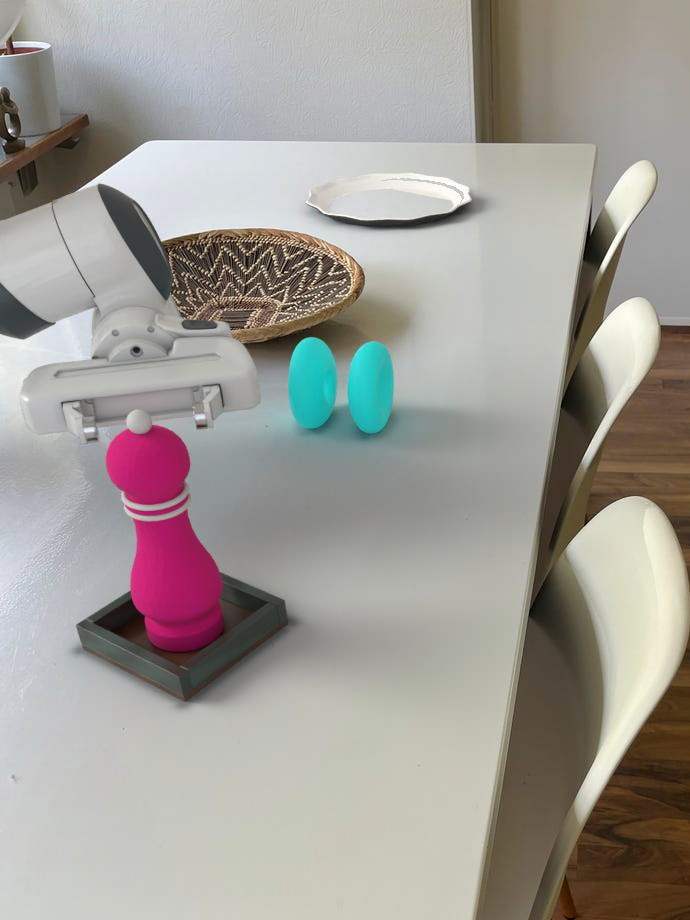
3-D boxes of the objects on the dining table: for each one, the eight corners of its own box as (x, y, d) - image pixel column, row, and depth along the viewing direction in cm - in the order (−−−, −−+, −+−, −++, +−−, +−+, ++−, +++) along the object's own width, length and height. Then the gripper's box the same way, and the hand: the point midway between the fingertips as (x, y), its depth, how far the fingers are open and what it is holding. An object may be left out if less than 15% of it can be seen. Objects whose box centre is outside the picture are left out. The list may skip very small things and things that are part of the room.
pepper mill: (173, 597, 90) (123, 383, 77) (246, 613, 88) (207, 397, 75) (125, 646, 84) (63, 425, 72) (201, 664, 82) (151, 440, 70)
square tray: (84, 653, 85) (75, 624, 83) (190, 583, 93) (184, 556, 91) (186, 706, 80) (178, 677, 78) (289, 628, 88) (285, 599, 86)
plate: (499, 198, 189) (499, 184, 188) (419, 243, 169) (418, 228, 167) (365, 178, 200) (365, 165, 198) (275, 218, 180) (273, 204, 178)
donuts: (316, 404, 122) (307, 322, 116) (398, 410, 120) (393, 328, 114) (290, 443, 114) (279, 358, 108) (377, 450, 113) (371, 364, 107)
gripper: (14, 343, 92) (3, 409, 81) (244, 319, 96) (262, 378, 86) (33, 408, 96) (25, 478, 85) (253, 382, 100) (271, 446, 90)
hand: (146, 428), depth 85 cm, fingers open, 8 cm apart
